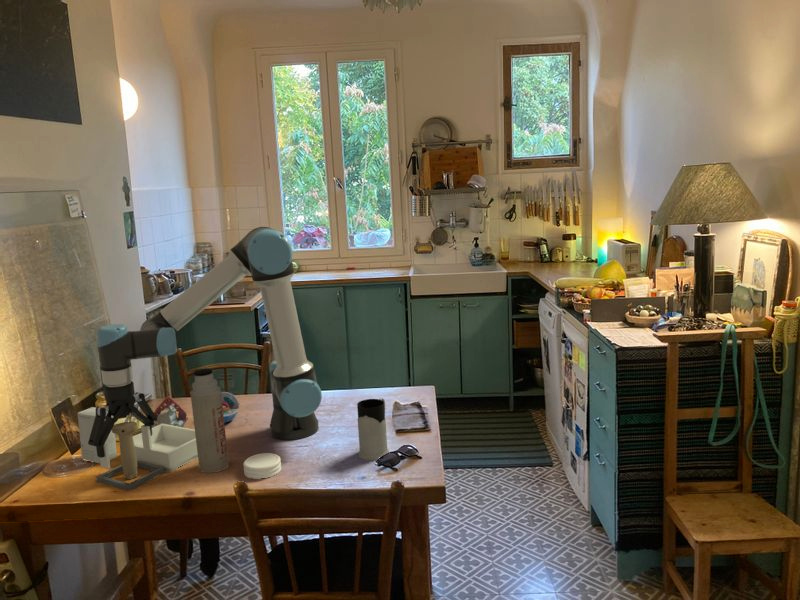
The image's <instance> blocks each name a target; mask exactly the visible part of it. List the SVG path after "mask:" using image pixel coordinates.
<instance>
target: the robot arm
mask: <svg viewBox="0 0 800 600" xmlns="http://www.w3.org/2000/svg"><path fill="white" fill-rule="evenodd" d="M293 256H294V255H293V246H292V244H291V242H290V240H289V239H288V237H287V236H286V235H285V234H284V233H283V232H281V231H280V230H276V229H274V228H272V227H268V226H258V227H255V228H253V229H251V230H250V231H249V232H248V233H246V235H245V236H243V238H242V239H240V241H238V242H237V243H236V244H235V245H234V246H233V247H231V248H230V249H229V251H228V255H227V256H226V257H225V258H224V259H222V260H221V261H220V262H219V263H218V264H216V265H215V266H214V267H212V269H210V270H208V272H207V273H205V274H204V275H203V276H201V277H200V278H199V279H198V280H196V282H194V283H192V284H191V285H190V286H189V287H188V288H187V289H186V290H184V291H183V292H182V293H180V294H179V295H178V296H177V297H176V298H174V299H173V300H172V301H171V302H169V303H168V304H167V305H166V306H165V307H163V308H162V309H161V310H160V311H158V312H157V313H156V314H155V315H153V316H152V317H150V318H149V317H148V318H147V319H146V320H145V321H144V322H143V323H142V324H141V326H140V329H139V330H133V331H132V330H130V331H129V329H128V327H127V325H125V324H121V323H118V324H116V323H115V324H113V323H112V324H107V325H104V326H101V327H99V328H98V329H97V330H96V338H97V341H96V342H97V352H98V357H99V365H100V372H101V379H102V385H103V386H102V389H103V396H104V399H105V402H106V404H105V406H96V407H95V408H96V417H95V420H94V424H93V427H92V431H91V434H90V438H89V441H88V444H89V445H92V446H96V449H97V456H98V457H100V461H101V464H100V467H101V468H103V469H106V470H109V469H111V460H109V452H108V445H107V444H105V442H106V440H107V438H108V436H109V434H110V432H111V430H112V428H113V426H114V425H115V424H116V423H117V422H118V420H119V419H122V418H124V417H126V416H130V414H131V415H132V416H133V417H134V418H136V419H137V420H138V421H139V422H140V423H142V425H140V431H141V432H140V433H142V440H143V448H146V449H152V442H151V436H152V426H153V425H154V421H156V420H157V417H156V415H155V414H154V412H155V411H153V409H152V408H151V406H150V405H149V404H148V402H147V399H146V397H145V394H144V393H142V392H137V391H135V386H134V385H135V383H134V382H133V381H134V375H133V374H134V373H133V367H132V360H140V359H148V358H158V357H160V358H161V357H167V356H173V355H175V354H176V353H177V352H178V349H177V338H176V334H177V332H179V331H180V330H181V329H182V328H183V327H184V326H186V325H187V324H188V323H189V322H191V321H192V320H193V319H195V318H196V317H197V316H198V315H199V314H200V313H201V312H203V311H204V310H205V309H206V308H208V307H209V306H210V305H212V304H213V303H214V302H215V301H216V300H218V299H219V298H221V296H223V295H224V294H225V293H226V292H227V291H228V290H230V289H232V287H234V286H235V285H236V284H237V283H238V282H239V281H241V280H242V279H243V278H245V277H246V276H251V279H252V282H253V283H255V284H256V285H258V286H259V289H260V293H261V298H262V299H261V300H262V303H263V307H264V312H265V316H266V322H267V325H268V326H267V327H268V331H269V335H270V340H271V344H272V348H273V353H274V358H275V360H273V361H272V362H271V363H270V364H269V376H270V385H271V387H270V388H271V395H272V397H271V398H272V407H273V410H272V415H271V419H270V423H269V434H270V436H271V437H273V438H274V439H278V440H297V439H302V438H306V437H309V436H312V435H314V434H315V433H317V432H318V430H319V420H318V418H317V417H316V414H315V412H316V411H317V409H318V408H319V407H320V405H321V402H322V398H323V395H322V389H321V388H320V387H321V386H320V385H319V384H318V381H317V377H316V372H315V368H314V363H312V362H311V361H309V360H308V359H307V355H306V351H305V345H304V340H303V336H302V331H301V326H300V321H299V316H298V311H297V306H296V302H295V296H294V291H293V288H292V287H293V286H292V283H291V282H292V281H291V279H292V278H293V276H294V275H295V269H294V265H293V260H292V259H293ZM135 403H136V404H137V405H138V407H139V408H140V409H141V411H142V412H141V411H140V410H139V409H138V408H137V407H136V406H135ZM107 411H108V413H107ZM111 416H113V418H112V417H111ZM105 419H106V420H105Z"/></svg>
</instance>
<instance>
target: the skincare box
mask: <svg viewBox="0 0 800 600" xmlns="http://www.w3.org/2000/svg"><path fill="white" fill-rule="evenodd" d="M107 413H108V411H107ZM95 417H96V407H94V406H91V407H89V408H87V409H84V410H81V411H79V412H77V419H78V420H77V421H78V432H79V440H80V442H79V443H80V452H81V460H82V459H86V460H90V461H93V462H92V463H94V462H95V464H100V465H101V461H100V457H98V456H97V449H96V446H92V445H89V444H88V441H89V438H90V434H91V431H92V427H93V424H94V420H95ZM111 417H112V418H113V416H111ZM105 420H106V419H105ZM116 441H117V440H116V434H115V433H113V432H112V430H111V432H110V434H109V436H108V438H107V440H106V442H105V444H107V445H108V452H109V460H110V461H111V460H114V459H116V458H117V457H118V451H117V442H116Z"/></svg>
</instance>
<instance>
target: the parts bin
mask: <svg viewBox="0 0 800 600" xmlns="http://www.w3.org/2000/svg"><path fill="white" fill-rule="evenodd" d="M132 437H133V442H134V447H135V452H136V457H137V461H141V462H145V463H150V464H154V465H158V466H163V467H165V472H167V471H169V472H168V473H171V471H172V472H174V471H175V469H176V470H177V469H179V468H181V467H183V466H185V465H187V464H189V463H191V462H192V461H194V460H196V459H198V453H197V444H196V436H195V428H188V427H185V426H183V427H178V426H173V425H168V424H160V425H158V426H155V427H153V428H152V436H151V442H152V449H146V448H143V440H142V432H140V433H138V434H136V435H132ZM118 445H119V446H118V447H119V448H120V442H118ZM190 461H191V462H190ZM188 462H189V463H188ZM186 463H187V464H186ZM184 464H185V465H184ZM182 465H183V466H182ZM180 466H181V467H180ZM178 467H179V468H178ZM173 470H174V471H173Z"/></svg>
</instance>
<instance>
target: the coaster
mask: <svg viewBox="0 0 800 600" xmlns="http://www.w3.org/2000/svg"><path fill="white" fill-rule="evenodd" d="M281 461H282V458H281V456H279V455H278V454H276V453H271V452H263V453H258V454H254V455H251V456H249V457H247V458H246V459H245V460H244V461H243V474H244V476H245V477H246V478H248V479H251V478H253V479H252V480H262V479H261V478H266V479H269V478H268V477H270V478H272V477H275V476H277V475H278V474H279V473H280V472H281V471H282V462H281ZM276 474H277V475H276ZM274 475H275V476H274Z"/></svg>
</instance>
